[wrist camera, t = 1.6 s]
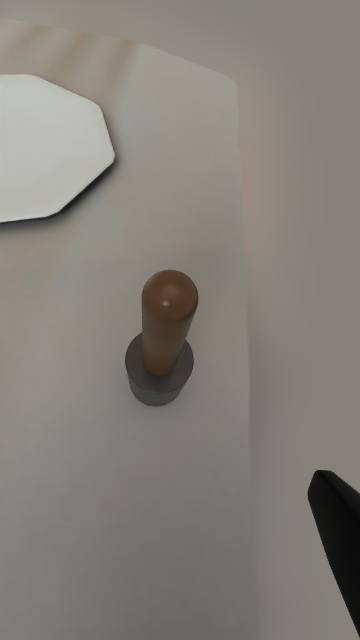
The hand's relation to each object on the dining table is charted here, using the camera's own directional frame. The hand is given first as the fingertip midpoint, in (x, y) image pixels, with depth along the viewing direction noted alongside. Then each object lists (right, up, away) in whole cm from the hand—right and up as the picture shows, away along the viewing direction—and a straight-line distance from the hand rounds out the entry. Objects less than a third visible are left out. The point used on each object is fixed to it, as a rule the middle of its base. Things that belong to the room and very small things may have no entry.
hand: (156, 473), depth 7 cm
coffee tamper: (-1, 0, +13) cm, 13 cm away
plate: (-19, +22, +22) cm, 36 cm away
